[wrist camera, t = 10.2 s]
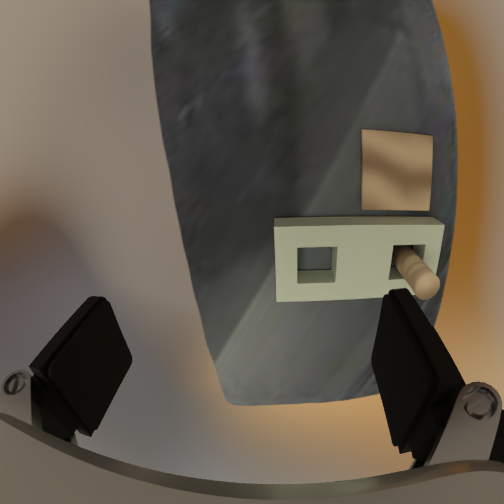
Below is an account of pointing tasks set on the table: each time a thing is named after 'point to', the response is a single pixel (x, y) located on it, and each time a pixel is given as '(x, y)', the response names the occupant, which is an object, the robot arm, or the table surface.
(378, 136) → the cork mat
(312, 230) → the hole block
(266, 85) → the table surface
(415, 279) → the peg
